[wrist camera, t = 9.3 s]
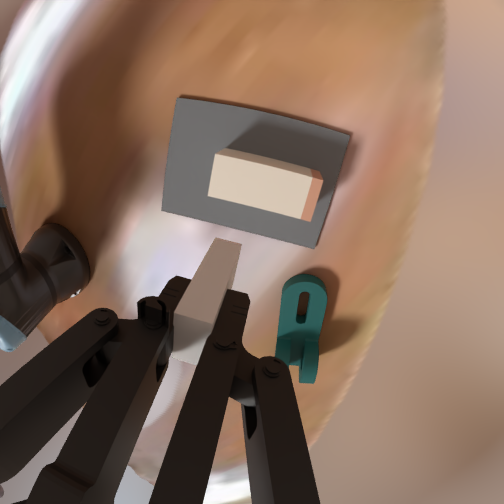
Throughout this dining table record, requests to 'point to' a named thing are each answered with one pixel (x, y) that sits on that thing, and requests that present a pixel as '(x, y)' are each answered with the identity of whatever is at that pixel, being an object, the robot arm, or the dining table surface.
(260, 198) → the cream block
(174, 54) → the dining table surface
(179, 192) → the slate mat
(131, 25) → the dining table surface
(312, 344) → the bracket
